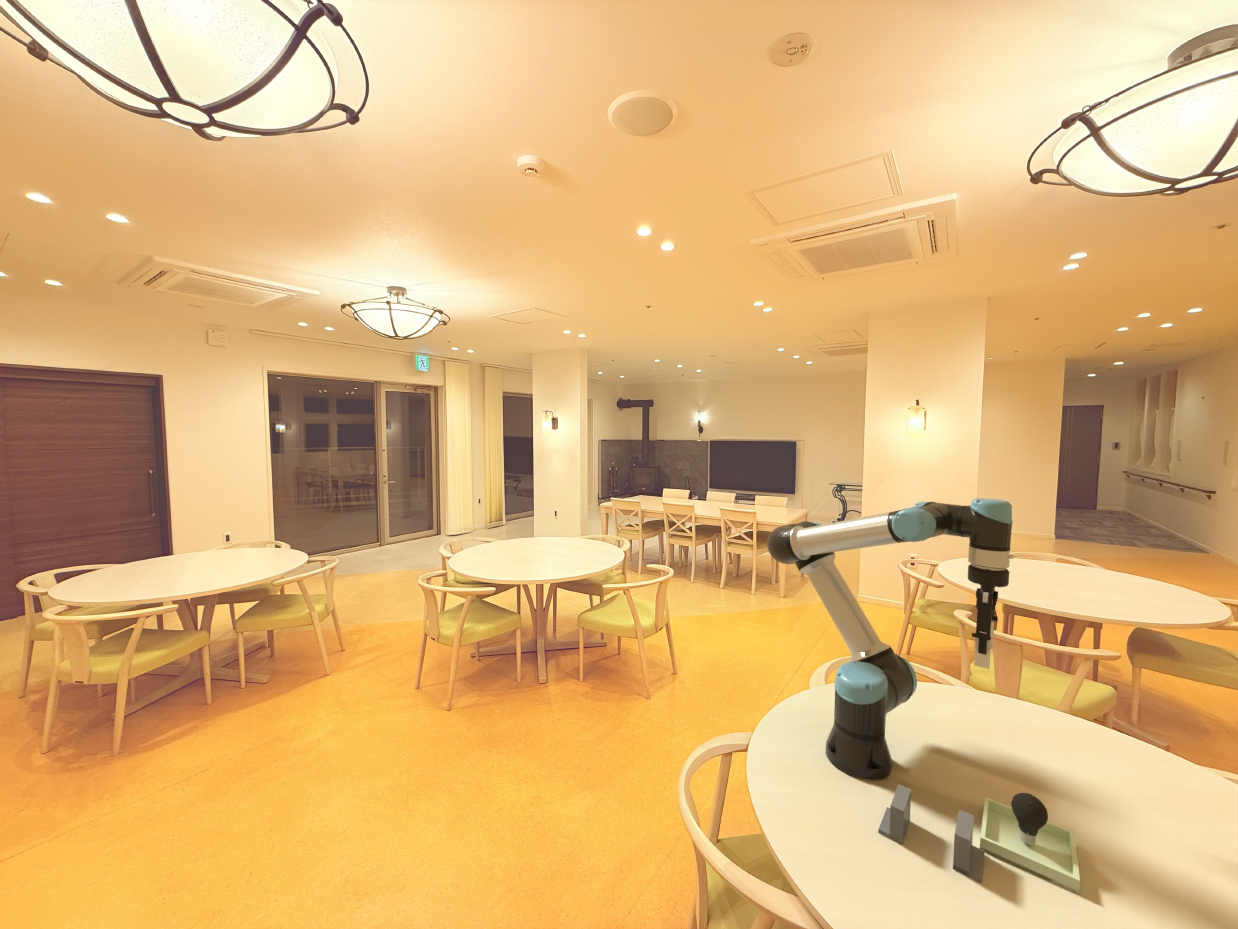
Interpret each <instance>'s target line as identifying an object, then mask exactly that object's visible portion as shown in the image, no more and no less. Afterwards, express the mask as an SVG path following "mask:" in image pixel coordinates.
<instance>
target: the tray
mask: <svg viewBox="0 0 1238 929" xmlns="http://www.w3.org/2000/svg"><path fill="white" fill-rule="evenodd" d="M981 822H982V823H981V829H980V839H979V840H980V841H979V842H980V843H979V848H980V849H982V850H984V851H985V853H986V854H988V855H991V856H992V857H995V858H997V859H999V860H1001V861H1003V862H1006V863H1008V864H1010V865H1013V866H1015V867H1017V868H1020V869H1021V870H1024V871H1026V872H1028V873H1031V874H1033V875H1035V876H1037V877H1039V878H1042V879H1044V880H1046V881H1048V882H1050V883H1052V884H1054V885H1057V886H1059V887H1062V888H1064V889H1066V890H1068V891H1070V892H1072V893H1075V894H1077V895H1080V888H1081V877H1080V869H1079V861H1078V853H1077V851H1078V850H1077V845H1076V844H1077V843H1076V836H1075V831H1073V830H1071V829H1068V828H1066V827H1063V826H1060V825H1059V824H1055V823H1053V822H1051V821H1048V820H1047V823H1046V824H1045V825H1044V826H1043V827H1042V828H1040V829H1039V830H1038V833H1037V835H1036V840H1035V844H1034V845H1029V846H1028V845H1026V844H1024V842H1023V841H1022V840H1021V839H1020V835H1019V832H1020V831H1019V830H1020V829H1019V825H1018V821H1017V818H1016V817H1015V815H1014V813H1013V810H1012V807H1011V806H1010V805H1006V804H1005V803H1002V802H999V801H996V800H995V799H992V798H988V797H986V796H985V797H984V804H983V812H982V820H981Z"/></svg>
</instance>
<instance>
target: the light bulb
mask: <svg viewBox="0 0 1238 929" xmlns="http://www.w3.org/2000/svg"><path fill="white" fill-rule="evenodd" d="M1010 804H1011V806H1010V807H1012V810H1013V813H1014V815H1015V817H1016V818H1017V821H1018V825H1019V829H1020V830H1019V831H1020V832H1019V835H1020V839H1021V840H1022V841H1023V842H1024V844H1026V845H1028V846H1029V845H1034V844H1035V840H1036V835H1037V833H1038V830H1039V829H1040V828H1042V827H1043V826H1044V825H1045V824H1046V823H1047V821H1048V819H1049V815H1048V810H1047V808H1046V805H1044V803H1043V801H1041V800H1040V799H1039V798H1038V797H1036V796H1035V795H1033V794H1031V793H1028V792H1019V793H1016V794H1015V795H1013V797H1012V798H1011V802H1010Z"/></svg>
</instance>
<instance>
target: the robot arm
mask: <svg viewBox="0 0 1238 929" xmlns="http://www.w3.org/2000/svg"><path fill="white" fill-rule="evenodd" d="M1012 508H1013V507H1012V503H1010V502H1009V501H1007V500H1004V499H996V498H974V499H972V500H971V503H970V505H960V504H951V503H944V502H943V503H942V502H935V501H919V502H917V503H915V505H914V506H911V507H907V508H903V509H900V510H894V511H887V512H883V513H882V512H881V513H877V514H871V515H868V516H867V515H866V516H862V517H856V518H852V519H846V520H841V521H836V522H830V523H825V524H821V523H819V522H816V521H800V522H798V523H797V522H796V523H792V524H791V523H790V524H789V523H788V524H783V525H781V526H780V525H779V526H777V527H775V528H773V530H771V532H770V533H769V535H768V537H767V540H766V546H767V550H768V553H769V555H770V556H771V557H772V558H773V560H775V561H777V562H778V563H781V564H783V565H784V564H785V565H795V566H796V567H797V569H798V572H799V573H801V574H804V575H806V576H808V578H809V581H810V582H811V584H812V586H813V587H814V588H813V589H814V590H815V592H817V593H816V594H817V595H818V597H819V598H820V600H821V602H822V604H823V606H824V607H825V609H826V610H827V613H828V615H829V616H830V618H831V619H832V622H833V624H834V625H835V627H836V629H837V630H838V632H839V634H840V636H841V637H842V639H843V641H844V643H845V644H846V646H847V648H848V649H849V652H850V655H851V656H850V659H849V661H848V662H845V663H843V664H841V665H840V666H839V667H838V668H837V670H836V674H835V678H834V711H833V712H834V716H833V720H834V721H833V725H832V727H831V729H830V732H829V734H828V736H827V739H826V743H825V755H826V758H827V759H828V760H829V762H830V763H831V764H832V765H833V766H834V767H836V768H837V769H839V771H842V772H844V773H845V774H847V775H849V776H852V777H855V778H858V779H861V780H867V781H880V780H884V779H886V778H888V777H889V776H890V775H891V774H892V770H893V769H892V768H893V759H892V756H891V752H890V750H889V749H890V748H889V746H888V743H887V739H886V721H887V720H886V717H887V715H888V713H890V712H892V711H893V710H894V709H896V708H898V707H899V706H900V705H902V704H904V703H906V702H908V701H909V700H910V699H911V697H912V696H913V694H914V693H915V692H916V690H917V687H918V686H917V685H918V678H917V673H916V671H915V669H914V667H913V666H912V665H911V663H910V662H909V661H908V660H907V659H906V658H905V657H902V656H900V655H899V654H897V653H895V652H894V650H893V648H892V646H891V645H890V644H888V643H885V642H883V641H882V640H881V639H880V638H879V636H878V634H877V631H875V629H874V628H873V626H872V624H871V622H870V621H869V619H868V617H867V616H866V614H865V612H864V611H863V610H862V606H860V604H859V602H858V600H857V599H856V597H855V596H854V595H853V593H852V591H851V589H850V587H849V586H848V584H847V582H846V581H845V579H844V577H843V576H842V574H841V572H840V570H839V568H838V566H836V564H835V560H836V554H835V553H836V552H843V551H844V552H845V551H850V550H851V551H852V550H857V549H865V548H871V547H878V546H885V545H893V544H894V545H895V544H900V543H908V542H909V543H910V542H911V543H918V542H924V541H926V540H928V539H931V538H936V537H939V536H943V535H946V536H953V537H962V538H969V543H968V558H967V559H968V560H967V561H968V563H969V564H968V566H967V579H968V581H970V582H971V583H973V584H978V585H980V588H978V587H977V588H976V592H975V599H976V603H975V604H976V605H975V606H976V607H975V608H976V610H977V616H976V624H975V625H976V626H975V633H974V632H971V637H972V638H975V639H974V640H975V641H974V658H973V659H974V660H973V666H975V667H980V668H983V669H986V670H989V669H990V664H991V663H990V662H991V649H992V650H994V636H995V635H994V632H995V631H994V629H995V622H998V618H999V617H998V616H996V606H997V603H998V599H999V598H998V597H999V590H998V591H997V590H996V587H997V588H1005V587H1008V585H1009V582H1010V581H1009V580H1010V571H1009V570H1008V568H1009V567H1010V560H1013V559H1014V557H1015V556H1014V555H1013V554H1011V542H1012V529H1013V522H1014V521H1013V509H1012Z"/></svg>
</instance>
